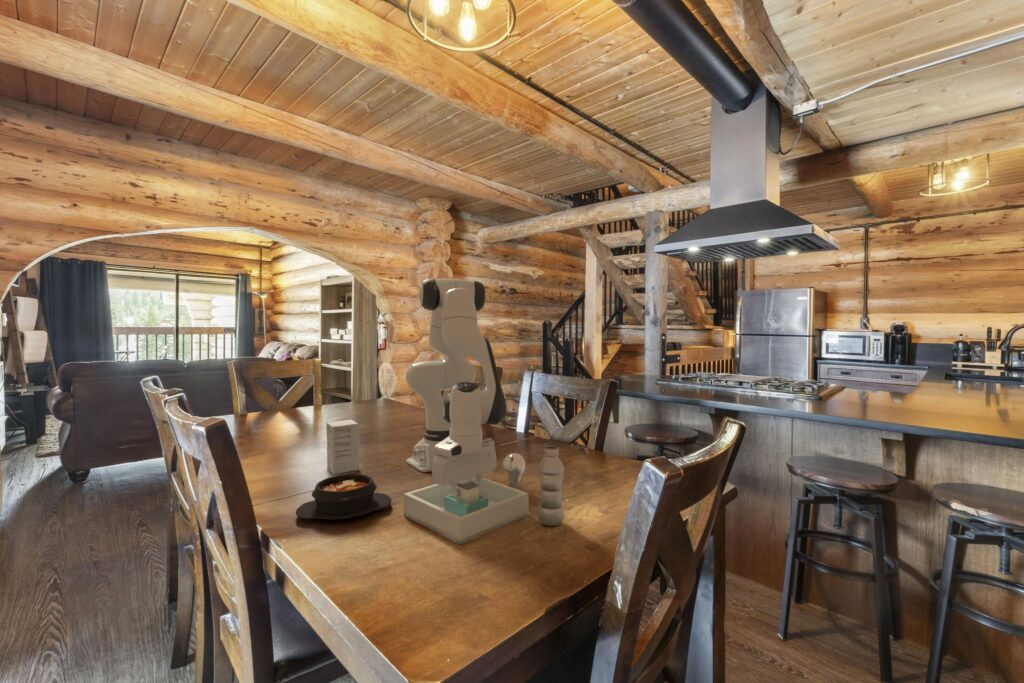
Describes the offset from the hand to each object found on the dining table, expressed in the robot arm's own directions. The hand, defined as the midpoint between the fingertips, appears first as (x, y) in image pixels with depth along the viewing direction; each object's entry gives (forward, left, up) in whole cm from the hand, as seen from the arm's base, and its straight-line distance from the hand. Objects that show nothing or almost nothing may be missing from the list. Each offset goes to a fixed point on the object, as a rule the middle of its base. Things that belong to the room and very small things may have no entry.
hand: (466, 493), depth 125 cm
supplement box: (-63, -5, -6) cm, 64 cm away
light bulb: (-3, +22, -6) cm, 23 cm away
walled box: (0, 0, -6) cm, 6 cm away
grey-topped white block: (0, 0, -5) cm, 5 cm away
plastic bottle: (+20, +12, -6) cm, 24 cm away
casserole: (-26, -22, -6) cm, 35 cm away
